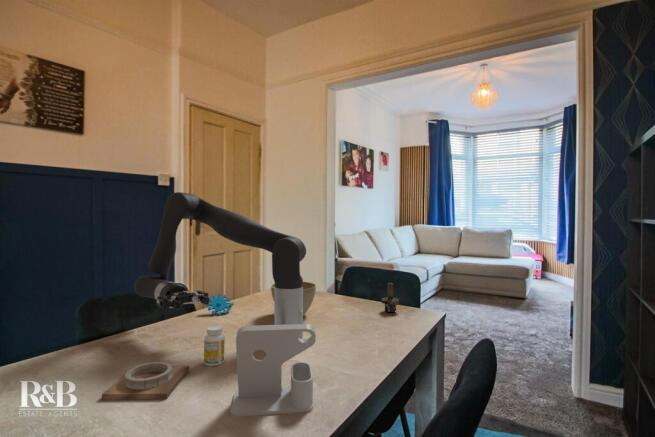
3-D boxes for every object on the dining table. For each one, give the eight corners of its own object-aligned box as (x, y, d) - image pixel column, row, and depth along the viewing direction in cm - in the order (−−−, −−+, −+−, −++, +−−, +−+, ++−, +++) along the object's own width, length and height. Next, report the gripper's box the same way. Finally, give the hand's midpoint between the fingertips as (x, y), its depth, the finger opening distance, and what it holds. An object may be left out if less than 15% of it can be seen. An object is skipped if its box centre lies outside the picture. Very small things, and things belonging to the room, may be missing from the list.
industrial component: (390, 308, 154) (390, 281, 153) (403, 312, 148) (403, 283, 148) (374, 312, 148) (375, 283, 148) (387, 316, 142) (388, 286, 142)
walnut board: (189, 370, 92) (189, 358, 91) (166, 398, 78) (166, 384, 78) (134, 371, 91) (134, 358, 91) (101, 399, 77) (101, 385, 77)
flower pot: (324, 313, 145) (324, 284, 145) (297, 324, 130) (297, 292, 130) (289, 306, 155) (290, 279, 155) (261, 316, 140) (261, 286, 139)
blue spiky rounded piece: (206, 313, 138) (207, 291, 145) (203, 321, 142) (204, 299, 148) (234, 314, 143) (234, 293, 149) (231, 321, 146) (231, 300, 153)
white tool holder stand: (311, 388, 83) (311, 312, 83) (315, 412, 73) (316, 325, 73) (235, 392, 81) (236, 314, 80) (229, 417, 71) (229, 328, 70)
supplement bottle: (210, 368, 93) (210, 332, 93) (200, 362, 96) (200, 327, 96) (228, 362, 97) (228, 327, 97) (217, 356, 101) (217, 323, 100)
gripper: (148, 285, 110) (170, 294, 99) (192, 279, 120) (216, 287, 109) (147, 309, 110) (169, 321, 99) (191, 301, 120) (216, 311, 109)
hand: (194, 303), depth 104 cm, fingers open, 8 cm apart
